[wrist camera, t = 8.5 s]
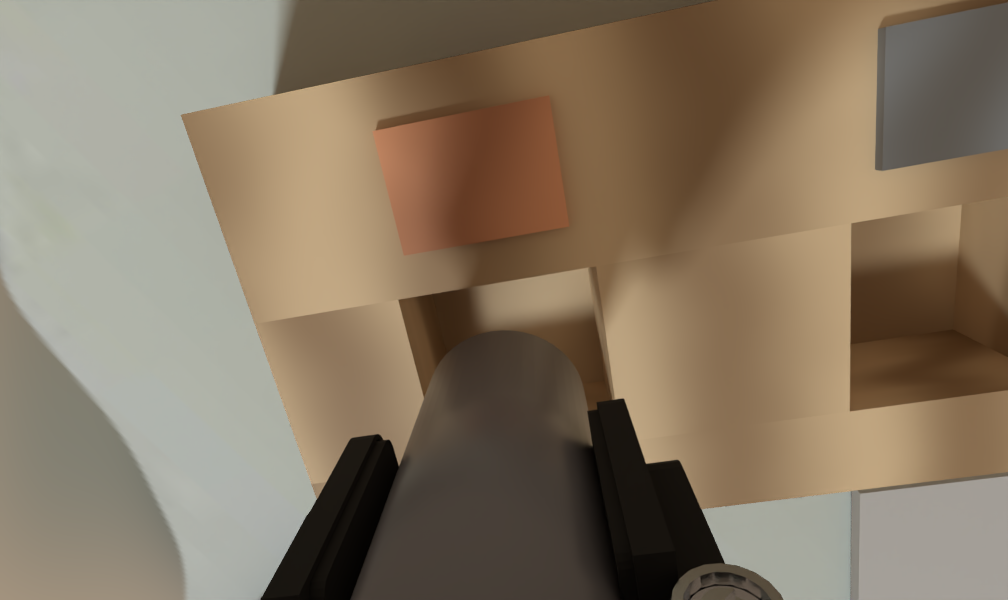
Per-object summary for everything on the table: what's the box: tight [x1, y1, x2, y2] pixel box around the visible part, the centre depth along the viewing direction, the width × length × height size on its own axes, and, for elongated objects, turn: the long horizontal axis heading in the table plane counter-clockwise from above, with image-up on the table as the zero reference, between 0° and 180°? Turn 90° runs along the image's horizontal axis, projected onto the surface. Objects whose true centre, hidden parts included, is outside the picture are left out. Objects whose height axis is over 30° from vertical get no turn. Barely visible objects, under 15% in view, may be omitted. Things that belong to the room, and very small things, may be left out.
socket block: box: [181, 0, 1008, 509], centre depth 17 cm, size 26×14×5 cm, turn 101°
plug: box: [350, 330, 622, 600], centre depth 9 cm, size 4×4×10 cm
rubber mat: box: [851, 472, 1008, 600], centre depth 23 cm, size 10×10×1 cm
